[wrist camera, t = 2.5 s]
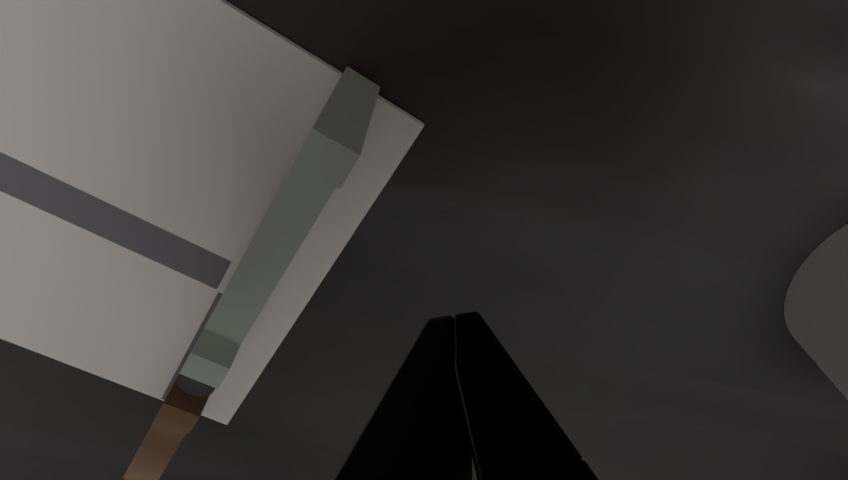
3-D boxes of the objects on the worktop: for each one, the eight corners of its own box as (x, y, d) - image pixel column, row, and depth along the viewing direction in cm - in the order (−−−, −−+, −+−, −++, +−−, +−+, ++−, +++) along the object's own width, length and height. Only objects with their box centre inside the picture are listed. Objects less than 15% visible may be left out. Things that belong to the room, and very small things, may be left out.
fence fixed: (192, 404, 25) (133, 525, 20) (167, 395, 25) (102, 515, 20) (266, 277, 21) (216, 389, 16) (239, 264, 21) (178, 374, 16)
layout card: (228, 420, 26) (226, 425, 26) (-87, 298, 22) (-93, 303, 22) (424, 123, 18) (424, 126, 17) (-22, -153, 14) (-31, -154, 14)
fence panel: (266, 279, 21) (217, 389, 16) (238, 266, 20) (179, 373, 16) (380, 86, 17) (360, 156, 12) (346, 66, 16) (312, 128, 11)
